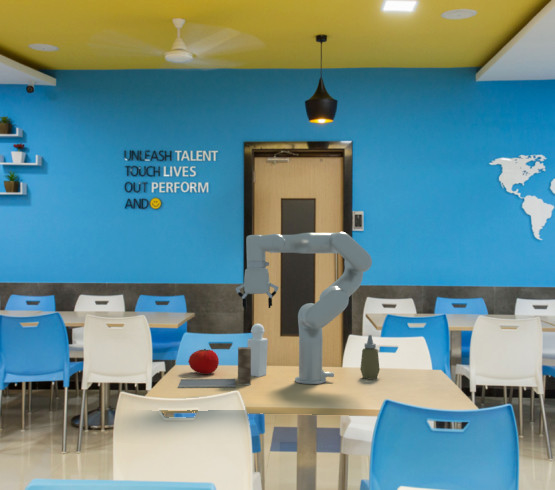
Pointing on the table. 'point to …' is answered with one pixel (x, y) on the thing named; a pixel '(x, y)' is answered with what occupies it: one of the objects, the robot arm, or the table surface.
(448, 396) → the table surface
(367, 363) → the squeeze bottle
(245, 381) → the walnut block
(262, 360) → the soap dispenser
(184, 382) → the grey rubber mat
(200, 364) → the tomato
